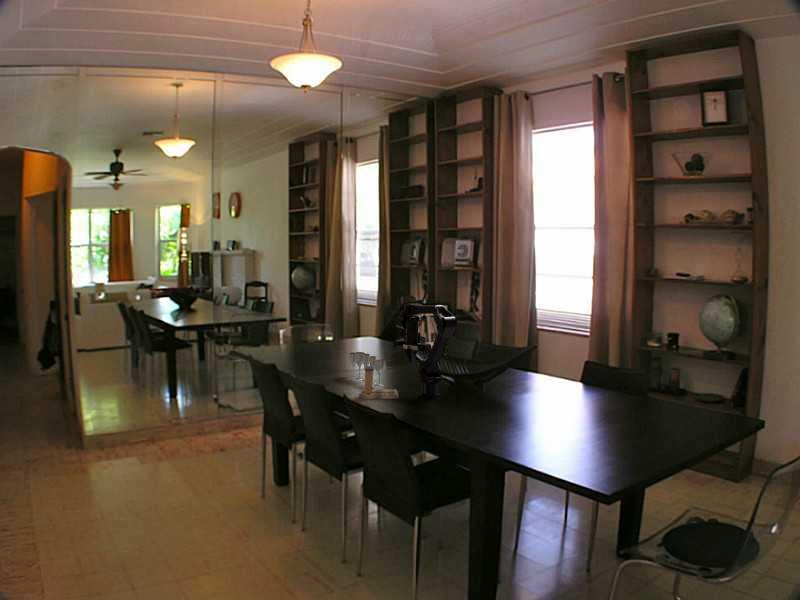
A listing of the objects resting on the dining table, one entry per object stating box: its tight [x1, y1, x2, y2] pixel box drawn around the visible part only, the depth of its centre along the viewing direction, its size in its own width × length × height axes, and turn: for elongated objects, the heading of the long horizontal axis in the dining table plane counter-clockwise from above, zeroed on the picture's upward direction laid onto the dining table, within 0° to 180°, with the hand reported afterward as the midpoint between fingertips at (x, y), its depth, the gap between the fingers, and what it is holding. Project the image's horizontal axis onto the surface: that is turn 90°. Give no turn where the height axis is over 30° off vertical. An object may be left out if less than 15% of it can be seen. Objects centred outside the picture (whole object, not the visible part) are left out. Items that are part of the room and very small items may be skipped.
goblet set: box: [348, 351, 387, 387], centre depth 298 cm, size 28×6×13 cm, turn 38°
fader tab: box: [363, 365, 373, 393], centre depth 269 cm, size 4×6×11 cm, turn 7°
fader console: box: [360, 389, 400, 400], centre depth 270 cm, size 16×10×2 cm, turn 97°
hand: (411, 363), depth 283 cm, fingers closed
